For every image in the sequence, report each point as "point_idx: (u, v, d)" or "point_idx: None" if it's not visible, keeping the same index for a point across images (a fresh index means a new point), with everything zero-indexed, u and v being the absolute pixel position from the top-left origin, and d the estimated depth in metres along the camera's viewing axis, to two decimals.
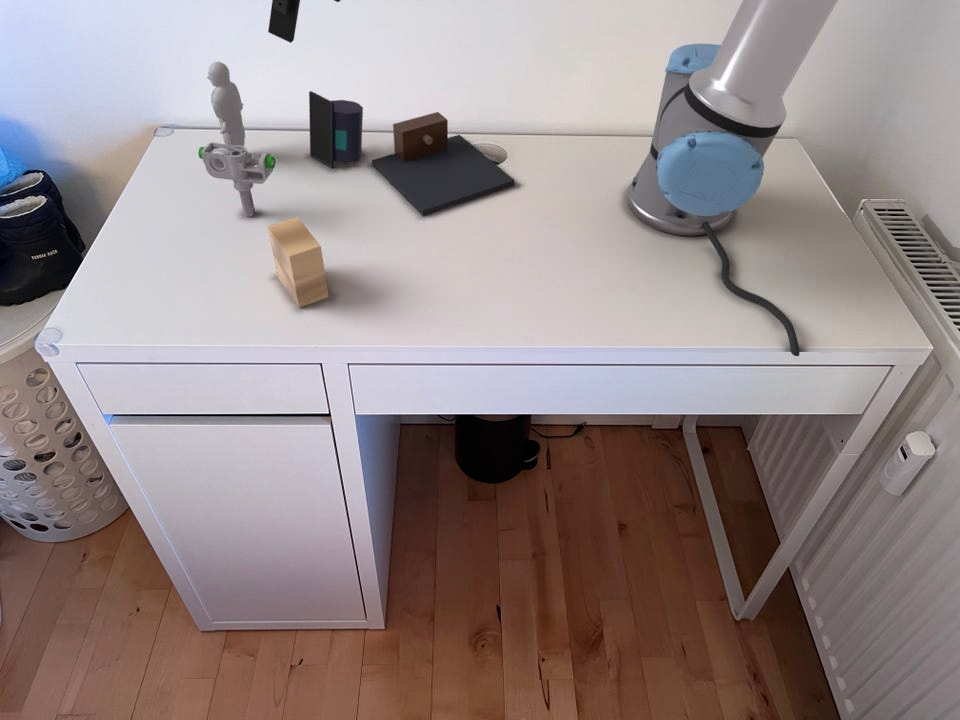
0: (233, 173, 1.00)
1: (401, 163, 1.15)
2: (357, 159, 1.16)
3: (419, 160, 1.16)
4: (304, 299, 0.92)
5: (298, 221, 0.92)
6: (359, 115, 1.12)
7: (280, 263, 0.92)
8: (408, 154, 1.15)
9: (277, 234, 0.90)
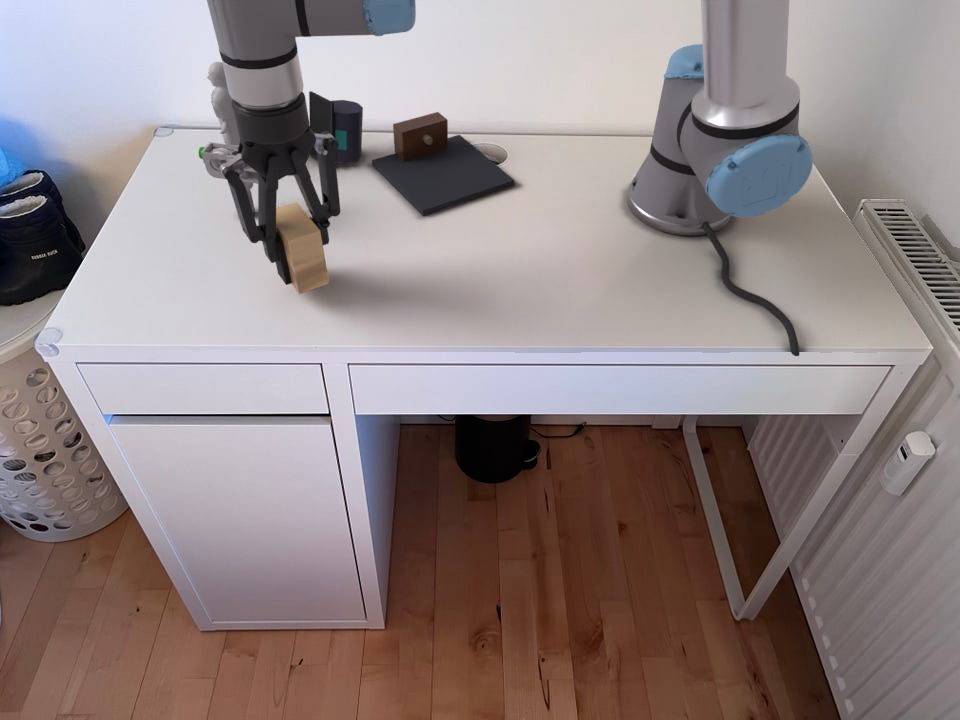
0: None
1: (401, 163, 1.15)
2: (357, 159, 1.16)
3: (419, 160, 1.16)
4: (304, 285, 0.91)
5: (297, 206, 0.90)
6: (359, 115, 1.12)
7: None
8: (408, 154, 1.15)
9: (276, 219, 0.88)
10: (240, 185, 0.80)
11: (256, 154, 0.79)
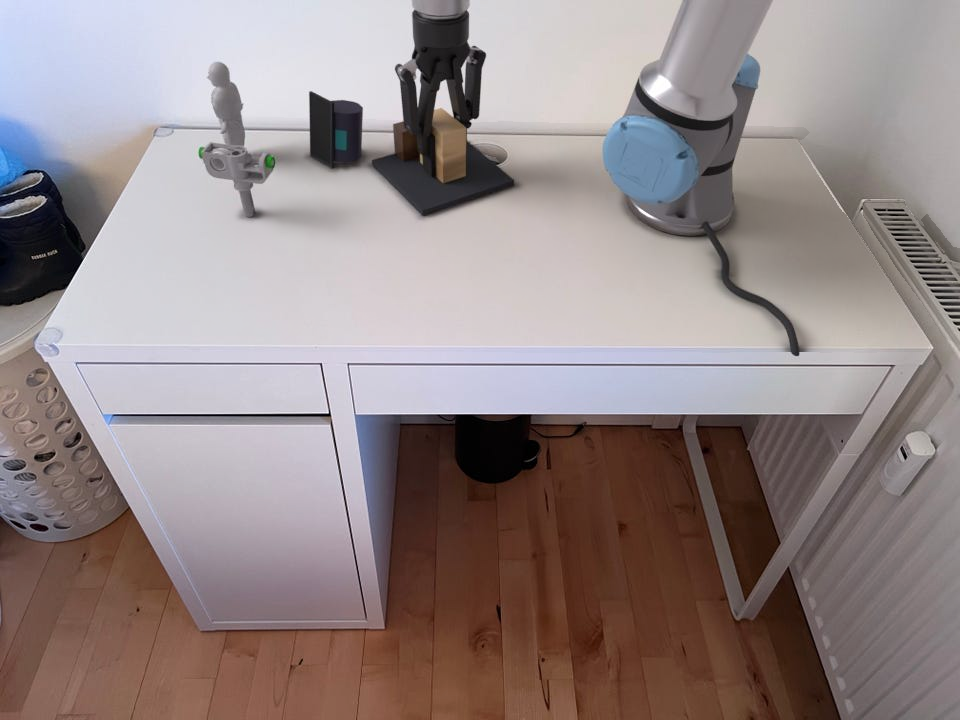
0: (233, 173, 1.00)
1: (401, 163, 1.15)
2: (357, 159, 1.16)
3: (419, 160, 1.16)
4: (447, 176, 1.11)
5: (443, 110, 1.11)
6: (359, 115, 1.12)
7: None
8: (408, 154, 1.15)
9: None
10: (413, 84, 1.01)
11: (427, 59, 1.00)
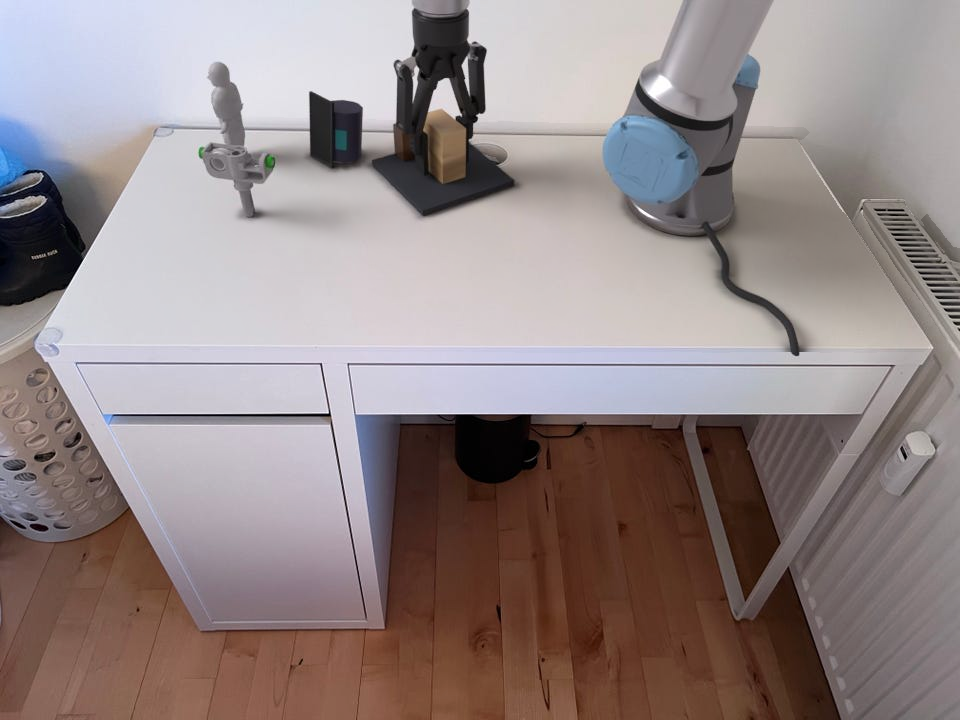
0: (233, 173, 1.00)
1: (401, 163, 1.15)
2: (357, 159, 1.16)
3: None
4: (447, 176, 1.11)
5: (443, 111, 1.11)
6: (359, 115, 1.12)
7: None
8: (408, 154, 1.15)
9: (428, 120, 1.09)
10: (410, 81, 1.00)
11: (427, 57, 0.99)
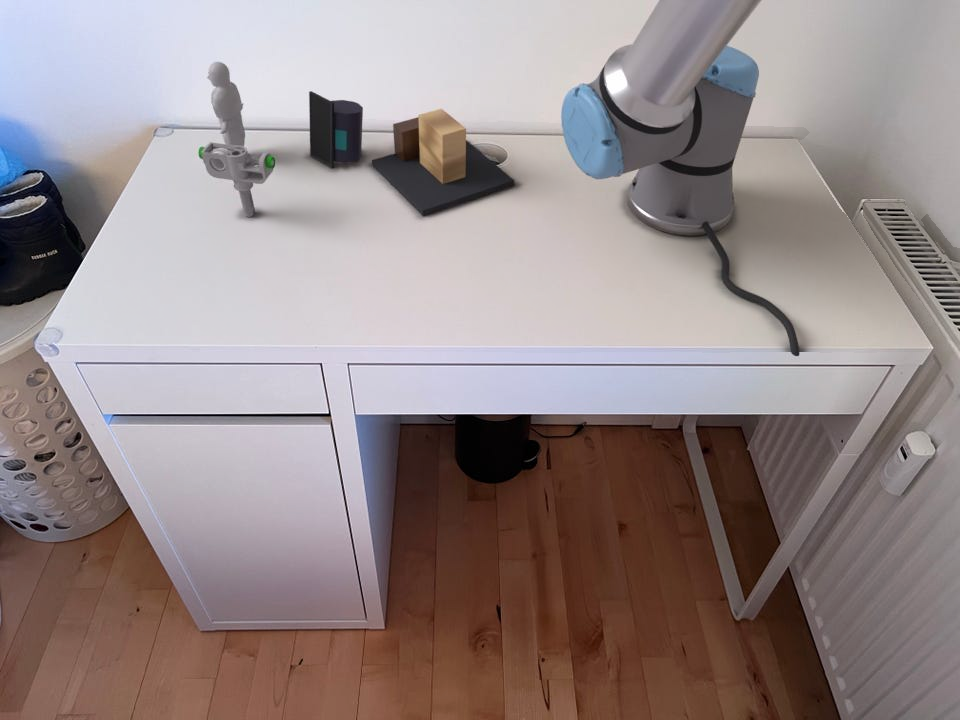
0: (233, 173, 1.00)
1: (401, 163, 1.15)
2: (357, 159, 1.16)
3: (419, 160, 1.16)
4: (447, 176, 1.11)
5: (443, 111, 1.11)
6: (359, 115, 1.12)
7: (427, 146, 1.11)
8: (408, 154, 1.15)
9: (428, 120, 1.09)
10: None
11: None
